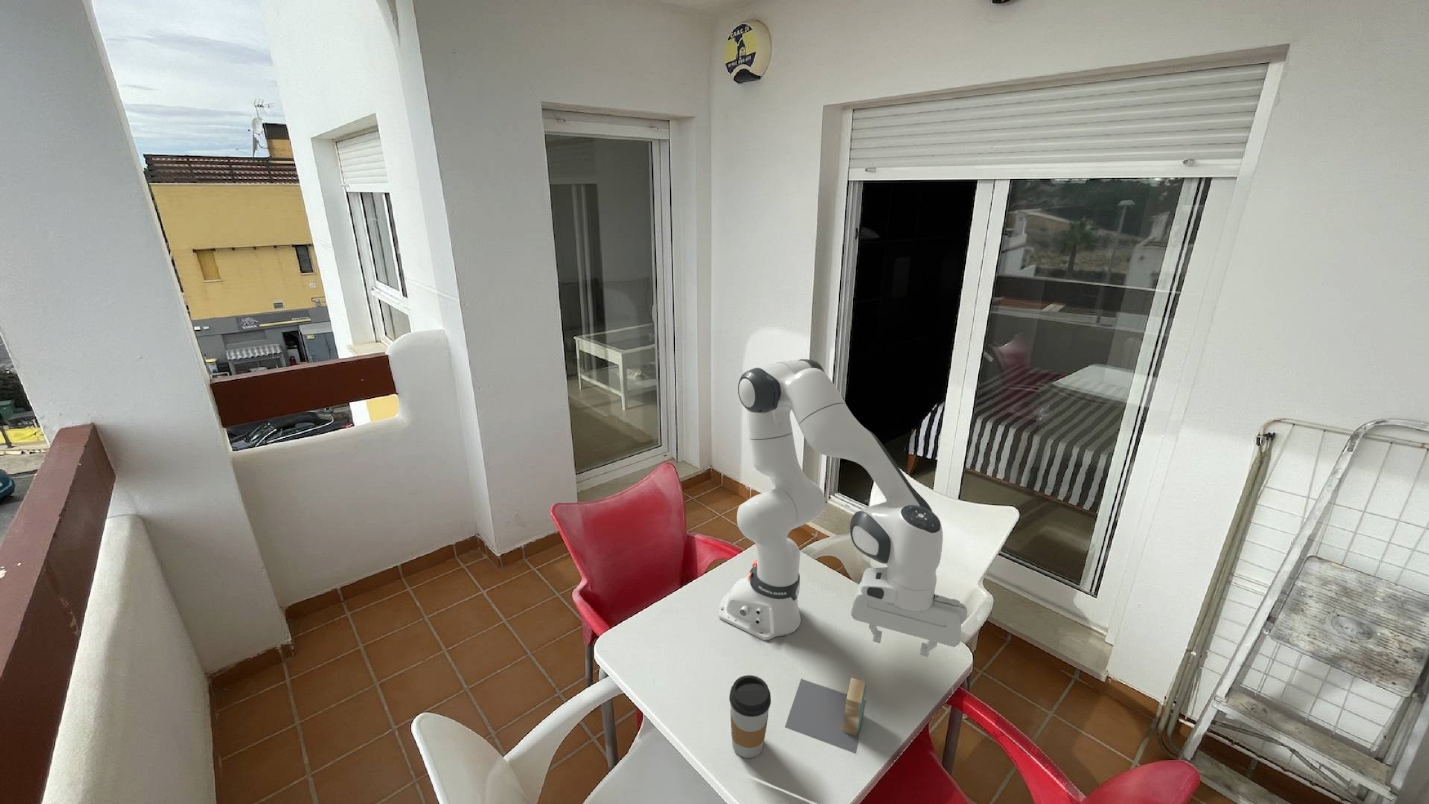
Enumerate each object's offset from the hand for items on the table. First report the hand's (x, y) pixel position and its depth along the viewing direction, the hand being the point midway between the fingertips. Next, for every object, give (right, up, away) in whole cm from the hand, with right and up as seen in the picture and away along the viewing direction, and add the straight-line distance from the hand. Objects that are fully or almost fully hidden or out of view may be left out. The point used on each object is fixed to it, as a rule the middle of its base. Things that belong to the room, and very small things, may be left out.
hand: (900, 647), depth 108 cm
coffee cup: (-30, -23, +5) cm, 38 cm away
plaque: (-7, -21, +10) cm, 24 cm away
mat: (-12, -20, +12) cm, 27 cm away
